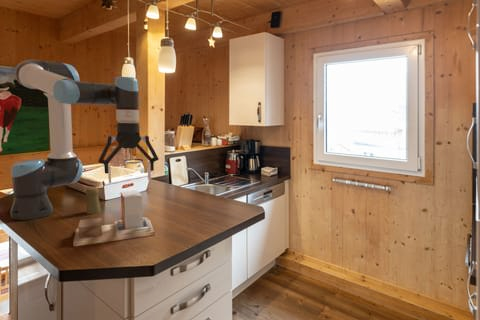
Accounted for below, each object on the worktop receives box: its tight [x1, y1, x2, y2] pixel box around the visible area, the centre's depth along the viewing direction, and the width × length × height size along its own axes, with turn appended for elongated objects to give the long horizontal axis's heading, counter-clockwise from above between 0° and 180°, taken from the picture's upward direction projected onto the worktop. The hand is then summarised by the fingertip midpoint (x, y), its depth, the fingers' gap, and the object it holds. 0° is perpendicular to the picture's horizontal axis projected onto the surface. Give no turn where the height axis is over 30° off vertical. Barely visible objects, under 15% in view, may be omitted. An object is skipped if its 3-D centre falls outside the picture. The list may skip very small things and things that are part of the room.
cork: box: [85, 186, 102, 215], centre depth 137 cm, size 6×6×11 cm
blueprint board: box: [72, 216, 156, 247], centre depth 113 cm, size 26×14×5 cm, turn 113°
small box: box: [120, 190, 144, 230], centre depth 115 cm, size 8×6×13 cm
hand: (130, 181), depth 113 cm, fingers open, 13 cm apart
